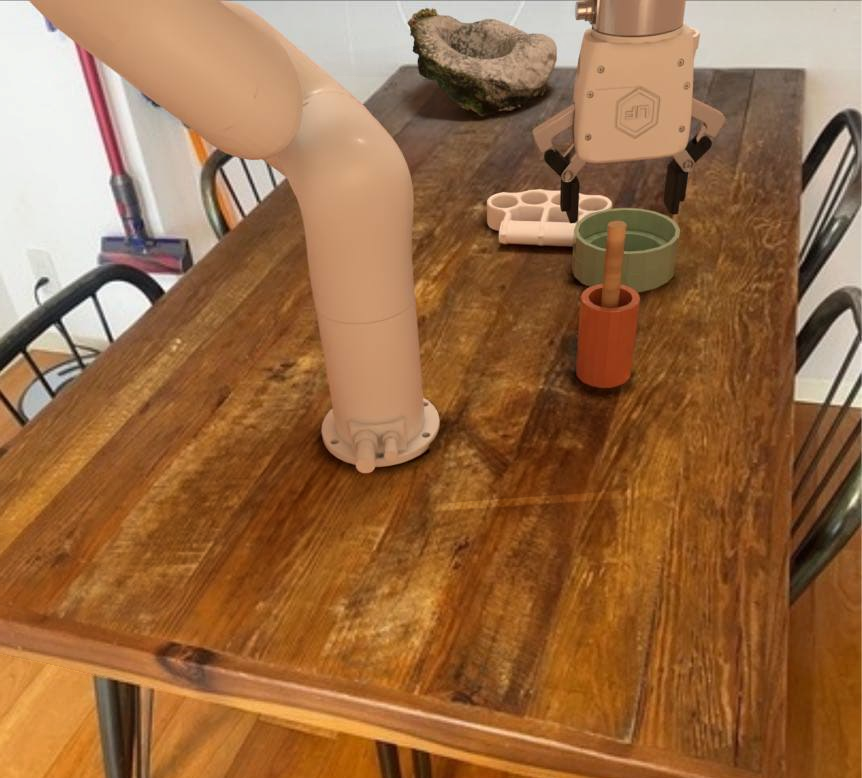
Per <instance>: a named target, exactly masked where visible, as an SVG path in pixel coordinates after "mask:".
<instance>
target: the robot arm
mask: <svg viewBox="0 0 862 778" xmlns="http://www.w3.org/2000/svg"><path fill="white" fill-rule="evenodd" d="M28 2H29V3H30V4H31V5H32V6H33V7H34V8H35V9H36V10H37V11H38V12H39V13H40V14H41V15H42V17H44V18H45V19H46V20H48V21H49V22H50V23H51V24H52V25H53V26H54V27H55V28H57V29H58V30H59V31H60V32H62V34H64V35H65V36H67V38H69V39H70V40H71V41H72V42H74V43H75V44H77V45H78V46H80V47H81V48H82V49H84V50H85V51H86V52H88V53H89V54H90V55H91V56H93V57H95V59H97V60H99V61H100V62H101V63H102V64H104V65H105V66H106V67H108V68H109V69H111V70H112V71H113V72H115V73H116V74H117V75H118V76H120V77H121V78H122V79H124V80H125V81H126V82H128V84H130V85H131V86H133V87H134V88H135V89H136V90H138V91H139V92H140V93H142V94H143V95H145V96H146V97H147V98H149V99H150V100H152V101H153V102H154V103H155V104H157V105H158V106H159V107H161V108H163V109H164V110H165V111H167V112H168V113H169V114H170V115H172V116H173V117H174V118H176V119H177V120H179V121H180V122H181V123H183V124H185V126H187V127H188V128H189V129H191V130H192V131H193V132H195V133H196V134H197V135H198V136H200V137H201V138H202V139H203V140H204V141H206V142H207V143H208V144H210V146H212V147H214V148H216V149H217V150H219V151H221V152H222V153H223V154H225V155H226V154H227V155H229V156H232V157H234V158H237V159H241V160H242V159H243V160H249V161H259V160H262V161H263V162H265V163H266V164H267V165H269V166H270V167H272V168H273V169H275V170H276V171H277V172H278V173H280V174H281V175H282V176H283V177H285V178H286V180H287V181H288V184H289V186H290V188H291V190H292V192H293V194H294V196H295V197H296V201H297V202H298V203H297V204H298V206H299V211H300V214H301V219H302V223H303V229H304V237H305V247H306V258H307V259H306V260H307V267H308V273H309V274H308V275H309V280H310V287H311V294H312V298H313V305H314V308H315V313H316V320H317V325H318V331H319V336H320V343H321V348H322V349H321V350H322V355H323V361H324V366H325V372H326V378H327V384H328V390H329V397H330V401H331V402H330V403H331V407H332V408H331V409H330V410H329V411H328V412H327V413H326V415H325V416H324V418H323V421H322V423H321V437H322V441H323V444H324V446H325V448H326V449H327V451H328V452H329V453H330V454H331V455H333V456H334V457H335V458H337V459H339V460H340V461H342V462H344V463H347V464H350V465H353V466H355V469H356V470H357V471H358V472H359V473H361V474H370V473H372V472H373V471H374V470H375V469H376V468H382V467H390V466H394V465H400V464H402V463H406V462H408V461H411V460H413V459H415V458H417V457H420V456H422V454H424V453H425V452H427V451H428V450H429V449H430V444H431V443H432V442H433V441H434V440H435V438H436V437H437V436H438V434H439V430H440V426H441V424H440V423H441V420H440V415H439V411H438V410H437V409H436V407H435V405H434V404H432V403H431V401H429V400H428V399H426V398H425V397H424V389H423V377H422V364H421V352H420V351H421V350H420V340H419V327H418V325H419V324H418V317H417V316H418V315H417V314H418V313H417V302H416V293H415V282H414V281H415V279H414V268H413V267H414V266H413V225H414V210H415V209H414V205H415V203H414V202H415V201H414V200H415V199H414V198H415V197H414V186H413V180H412V176H411V175H412V174H411V172H410V169H409V166H408V163H407V161H406V158H405V156H404V154H403V152H402V150H401V148H400V147H399V145H398V144H397V142H396V141H395V140H394V138H393V136H392V135H391V134H390V133H389V132H388V131H387V130H386V128H384V126H383V125H382V124H381V122H379V120H378V119H377V118H375V117H374V115H373V114H372V113H371V112H370V110H368V109H367V107H366V106H365V105H364V104H363V103H362V102H361V101H360V100H359V99H358V98H357V97H356V96H355V95H353V93H351V92H350V91H349V90H348V89H347V88H346V87H344V85H342V84H341V83H340V82H338V81H337V80H336V79H334V77H333V76H331V75H330V74H329V73H328V72H327V71H326V70H324V69H323V68H322V67H321V66H320V65H318V64H317V63H316V62H315V61H314V60H313V59H311V58H310V57H309V56H308V55H307V54H305V53H304V52H303V51H302V50H301V49H299V48H298V46H296V45H295V44H294V43H292V42H291V41H290V40H289V39H288V38H287V37H285V36H284V35H283V34H282V33H281V32H279V30H278V29H277V28H275V27H274V26H273V25H272V24H270V23H269V22H268V21H267V20H266V19H264V18H263V17H261V16H260V15H259V14H258V13H257V12H255V11H253V10H251V9H250V8H249V7H246V6H244V5H242V4H239V3H236V2H232V1H229V0H28ZM686 2H687V0H582V1H580V0H579V1H576V2H575V6H574V7H575V8H574V16H575V20H576V21H582V20H584V22H588V23H589V25H591V28H588V29H586V30H585V31H584V33H583V36H582V41H581V44H580V50H579V55H578V59H577V65H576V74H575V79H574V87H573V94H572V104H570V105H569V106H567V107H566V108H564V109H563V110H561V111H559V112H558V113H556V114H555V115H553V116H552V117H550V118H548V119H546V120H545V121H543V122H542V123H540V124H539V125H537V126H535V127H534V128H533V130H532V131H531V132H532V137H533V140H534V142H535V144H536V146H537V148H538V150H539V152H540V154H541V156H542V158H543V160H544V162H545V163H546V165H548V166H549V168H551V169H552V171H554V172H555V173H556V174H557V175H558V176H559V177H560V208H561V211H562V212H565V211H566V214H567V216H568V219H569V222H570V223H576V222H577V221H578V207H579V193H580V187H581V185H580V181H579V179H578V176H577V175H578V174H579V173H580V171H581V170H582V169H583V168H584V167H585V166H586V164H587V163H588V164H608V163H609V164H610V163H621V162H632V161H633V162H634V161H644V160H645V161H646V160H654V159H663V158H664V159H665V158H671V157H672V160H669V163H667V167H666V175H665V183H664V192H663V204H664V206H665V208H666V209H667V211H668V213H669V214H671V216H673V215H678V214H679V211H680V203H681V202H685V200H686V194H687V186H688V180H689V179H688V178H689V173H690V172H691V171H692V170H693V169H694V168H695V164H696V163H697V162H698V161H699V160H700V159H701V158H702V157H703V156H704V155H705V154H707V152H709V150H710V149H711V148H712V145H713V142H714V141H715V139H716V138H717V137H718V135H719V134H720V131H722V128H723V127H724V125H725V123H726V121H727V119H726V116H725V115H724V113H722V111H720V110H718V109H717V108H715V107H713V106H711V105H708V104H706V103H705V102H703V101H701V100H698V99H697V98H695V97H693V95H694V65H695V64H694V61H695V57H694V49H693V32H692V29H691V28H690V27H691V26H689V25H688V24H686V23H684V20H685V10H686ZM692 118H693V119H695V120H697V121H699V122H701V123H702V126H701V128H700V131H699V132H697V133H696V134H695V135H694V137H692V138H691V140H689V139H690V133H691V124H692ZM568 129H570V140H571V142H572V144H571V145H570V146H569V148H568V149H567V150H566V151H565V153H564V154H562V153H560V152H559V150H557V148H555V146H554V144H553V142H552V141H553V140H554V138H555V137H557V136H558V135H560V134H561V133H563V132H565V131H566V130H568Z"/></svg>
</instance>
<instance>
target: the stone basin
mask: <svg viewBox="0 0 862 778" xmlns="http://www.w3.org/2000/svg"><path fill="white" fill-rule="evenodd" d="M407 26H409V31H410V34H409V36H411V37H413V46H412V52H413V53H414V54H416V55H417V56H418V57H417V69H418V74H419V75H420V76H421V77H423V78H425V79H428V80H429V81H435V82H436V83H437V85H438V87H439V88H440V89H441V91H442V92H445V93H446V94H447V95H448V97H449V98H450V99H451V100H452V101H454V102H455V104H457V106H459V107H460V108H462V109H465V110H467V111H469V110H471V111H473V112H475V113H477V114H478V115H479V116H480V117H486V116H487V115H495V114H497V113H498V112H502V111H513V110H514V109H516V108H518V107H519V108H521V106H522V105H523V104H526V103H527V102H528V101H529V99H530V100H533V99H534V97H543V96H544V93H545V92H546V91H547V89H546V87H547V85H548V83H549V81H550V77H551V74H552V73H553V71H554V70H555V67H556V63H557V59H558V49H557V44H556V42H555V40H554V39H553V38H551V36H548V35H546V34H544V33H527V32H525V31H523V30H521V29H519V28H518V27H515V26H513V25H510V24H508V23H506V22H503V21H501V20H499V19H496V18H495V19H494V18H485V19H482V20H477V21H473V22H462V21H460V20H458V19H457V18H454V17H453V16H452V15H440V14H439V13H438V11H437V9H436V8H434V7H431V8H429V7H427V6H426V7H425V8H422V9H419V10H418V11H417V12H414V13H412V16H411V18H410V19H409V20H408V21H407Z"/></svg>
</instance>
